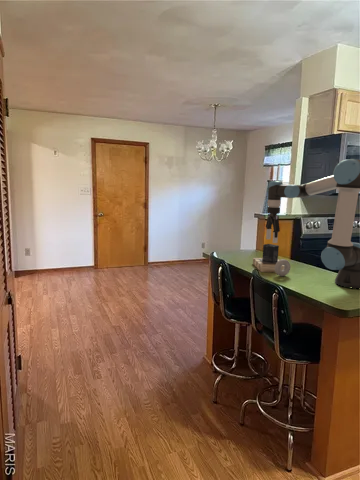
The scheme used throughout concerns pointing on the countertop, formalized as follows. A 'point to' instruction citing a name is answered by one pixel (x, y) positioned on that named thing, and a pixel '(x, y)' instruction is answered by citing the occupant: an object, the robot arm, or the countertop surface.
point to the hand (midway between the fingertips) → (271, 241)
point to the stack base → (265, 265)
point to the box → (270, 253)
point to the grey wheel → (285, 270)
